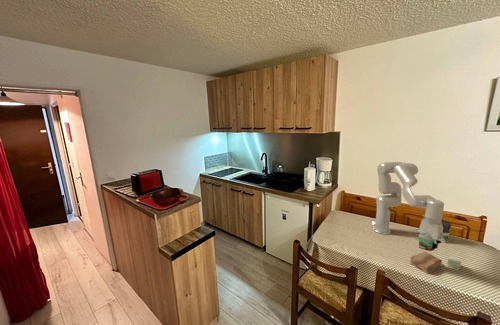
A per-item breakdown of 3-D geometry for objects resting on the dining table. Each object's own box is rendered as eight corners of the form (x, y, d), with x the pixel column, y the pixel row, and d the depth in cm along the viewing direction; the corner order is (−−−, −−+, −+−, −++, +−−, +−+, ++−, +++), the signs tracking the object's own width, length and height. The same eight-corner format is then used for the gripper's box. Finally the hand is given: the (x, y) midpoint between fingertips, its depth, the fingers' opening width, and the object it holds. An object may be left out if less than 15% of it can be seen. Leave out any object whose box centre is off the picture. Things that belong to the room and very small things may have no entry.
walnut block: (410, 263, 126) (411, 257, 125) (424, 258, 131) (425, 251, 130) (426, 273, 118) (427, 266, 117) (440, 267, 122) (441, 260, 121)
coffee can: (446, 237, 152) (449, 221, 149) (449, 244, 144) (452, 227, 141) (429, 233, 158) (431, 217, 155) (430, 239, 150) (433, 223, 147)
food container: (428, 253, 117) (430, 239, 115) (417, 247, 122) (418, 233, 120) (442, 249, 120) (444, 234, 118) (430, 243, 126) (432, 229, 124)
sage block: (446, 265, 123) (448, 259, 122) (448, 262, 126) (450, 255, 125) (458, 270, 119) (459, 263, 118) (459, 267, 122) (461, 260, 121)
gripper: (413, 214, 125) (409, 239, 128) (446, 227, 109) (441, 255, 112) (420, 212, 127) (417, 237, 130) (454, 224, 111) (449, 252, 115)
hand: (428, 245), depth 121 cm, fingers closed on food container, 5 cm apart
